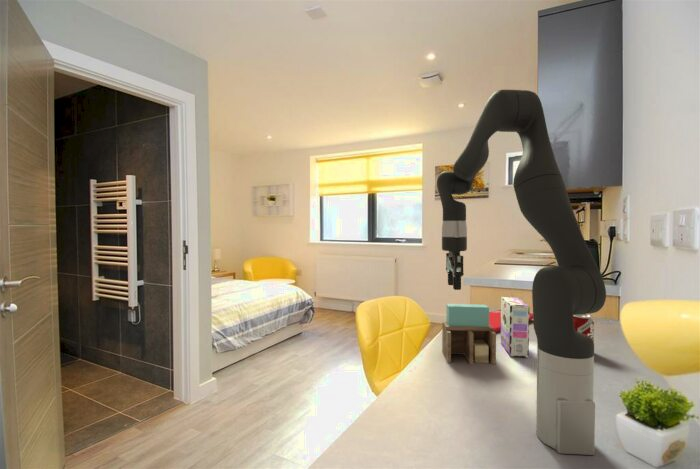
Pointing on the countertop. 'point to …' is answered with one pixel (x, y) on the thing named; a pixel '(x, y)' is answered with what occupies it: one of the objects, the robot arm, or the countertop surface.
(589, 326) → the soda can
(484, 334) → the shelf
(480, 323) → the block
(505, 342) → the candy box
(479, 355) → the oak offcut
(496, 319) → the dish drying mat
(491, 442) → the countertop surface
